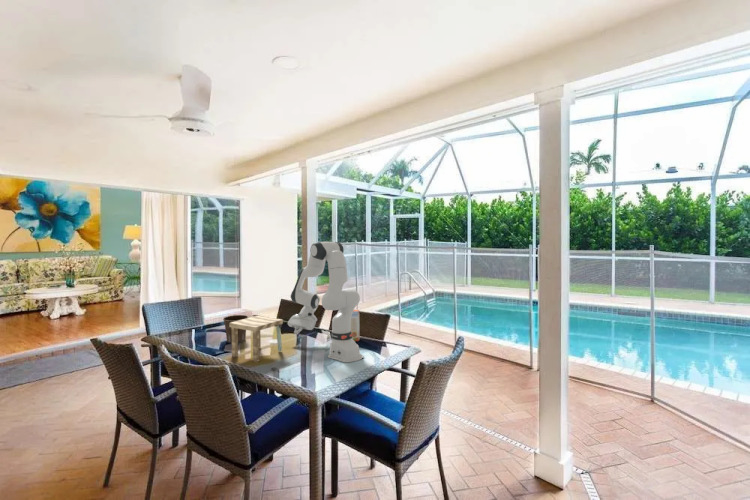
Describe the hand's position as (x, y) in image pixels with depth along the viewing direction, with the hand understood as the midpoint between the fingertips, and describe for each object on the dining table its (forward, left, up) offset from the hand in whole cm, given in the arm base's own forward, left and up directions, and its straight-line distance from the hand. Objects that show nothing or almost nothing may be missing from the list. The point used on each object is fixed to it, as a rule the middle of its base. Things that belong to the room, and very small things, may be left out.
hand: (296, 333), depth 247 cm
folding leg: (-5, +14, -8) cm, 17 cm away
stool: (0, +27, -8) cm, 28 cm away
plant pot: (+38, +26, -9) cm, 46 cm away
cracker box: (-12, -34, -9) cm, 37 cm away
